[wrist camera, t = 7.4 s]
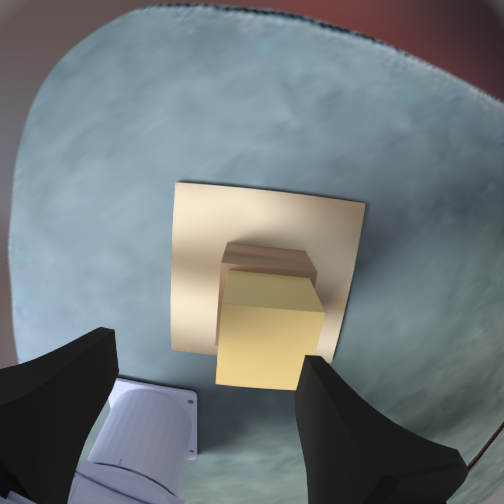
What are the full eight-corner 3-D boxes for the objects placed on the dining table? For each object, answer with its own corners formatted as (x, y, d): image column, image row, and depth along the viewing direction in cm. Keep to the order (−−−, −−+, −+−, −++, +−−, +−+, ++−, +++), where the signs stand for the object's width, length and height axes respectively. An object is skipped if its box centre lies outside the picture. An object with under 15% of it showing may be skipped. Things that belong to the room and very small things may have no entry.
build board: (330, 360, 23) (331, 362, 23) (172, 346, 23) (171, 349, 22) (363, 202, 20) (365, 203, 19) (176, 182, 19) (175, 182, 19)
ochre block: (295, 345, 18) (305, 390, 14) (222, 339, 18) (215, 383, 14) (309, 277, 17) (325, 312, 13) (228, 269, 16) (221, 303, 13)
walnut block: (293, 320, 22) (301, 352, 18) (221, 313, 22) (215, 345, 18) (305, 250, 20) (317, 272, 16) (226, 242, 20) (221, 262, 16)
